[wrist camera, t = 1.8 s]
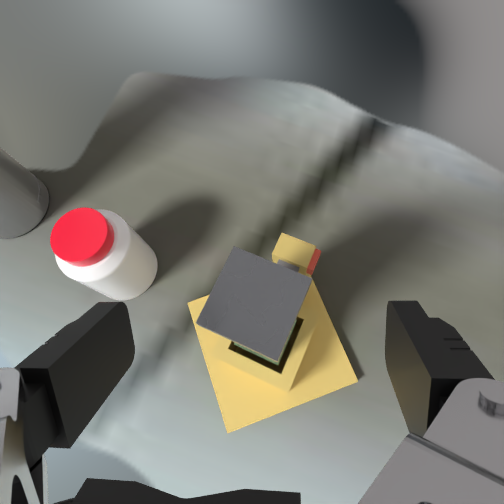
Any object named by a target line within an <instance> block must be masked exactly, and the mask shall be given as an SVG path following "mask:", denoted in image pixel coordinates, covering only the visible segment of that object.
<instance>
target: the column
mask: <svg viewBox="0 0 504 504" xmlns="http://www.w3.org/2000/svg"><path fill="white" fill-rule="evenodd" d="M311 282H312V278H310V277H308V276H306V275H303V274H301V273H298V272H296V271H293V270H291V269H288V268H286V267H284V266H281V265H279V264H276V263H274V262H271V261H269V260H266V259H264V258H262V257H259V256H257V255H254V254H252V253H249V252H247V251H245V250H242V249H240V248H237V247H235V246H234V247H233V249H232V251H231V253H230V255H229V257H228V259H227V261H226V263H225V265H224V267H223V269H222V271H221V273H220V275H219V277H218V279H217V281H216V283H215V285H214V287H213V289H212V291H211V293H210V295H209V297H208V299H207V301H206V303H205V305H204V307H203V309H202V311H201V313H200V315H199V317H198V319H197V321H196V324H198V325H199V326H201V327H203V328H205V329H207V330H210V331H212V332H214V333H216V334H218V335H220V336H222V337H224V338H226V339H229V340H231V341H233V342H235V343H234V345H236V346H238V347H240V348H242V349H243V350H245V351H247V352H250V353H252V354H254V355H256V356H258V357H260V358H262V359H264V360H266V361H269V362H271V363H273V364H275V365H277V366H278V365H279V363H280V360H281V358H282V355H283V353H284V351H285V348H286V346H287V343H288V341H289V339H290V336H291V334H292V332H293V328H294V326H295V324H296V321H297V320H296V318H297V316H298V313H299V311H300V309H301V306H302V304H303V302H304V299H305V297H306V294H307V292H308V290H309V287H310V285H311Z"/></svg>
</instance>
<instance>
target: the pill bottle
mask: <svg viewBox="0 0 504 504" xmlns="http://www.w3.org/2000/svg"><path fill="white" fill-rule="evenodd" d="M50 243H51V247H52V250H53V252H54V253H55V257H56V262H57V264H58V266H59V268H60V269H61V270H62V272H63V273H64V274H65V275H67V276H68V277H69V278H71V279H73V280H75V281H77V282H79V283H81V284H83V285H85V286H87V287H89V288H91V289H93V290H95V291H97V292H99V293H101V294H103V295H105V296H107V297H109V298H111V299H115V300H129V299H133V298H135V297H138V296H139V295H141V294H142V293H144V292H145V291H146V290H147V289H148V288H149V287H150V285H151V284H152V283H153V281H154V279H155V276H156V273H157V267H158V264H157V258H156V255H155V253H154V251H153V249H152V248H151V247H150V246H149V245H148V244H147V243H146V242H145V241H144V240H143V239H142V238H141V237H140V236H139V235H138V234H137V233H136V232H135V231H134V230H133V229H132V228H131V226H130V225H129V224H128V223H127V222H126V221H125V220H124V219H123V218H122V217H120V216H119V215H118V214H116V213H114V212H111V211H109V210H103V209H95V210H94V209H92V208H77V209H74V210H71V211H69V212H68V213H66V214H65V215H63V216H62V217H61V218H60V219H59V220H58V221H57V223H56V224H55V226H54V227H53V230H52V233H51V237H50Z"/></svg>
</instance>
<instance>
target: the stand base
mask: <svg viewBox="0 0 504 504" xmlns="http://www.w3.org/2000/svg"><path fill="white" fill-rule="evenodd" d="M320 254H321V250H318V249H316V246H315V245H312V244H309V243H307V242H304V241H302V240H299V239H297V238H294V237H291V236H289V235H286V234H284V233H282V234H281V236H280V238H279V240H278V242H277V244H276V246H275V249H274V251H273V253H272V259H273V262H274V263H276V264H279V265H281V266H284V267H286V268H288V269H291V270H293V271H296V272H298V273H301V274H303V275H306V276H308V277H310V278H312V277H311V275H312V274H313V271H314V269H315V266H316V264H317V262H318V259H319V257H320ZM208 297H209V295H207V296H205V297H202V298H199V299H197V300H194V301H191V302H189V303H188V306H189V309H190V312H191V316H192V319H193V322H194V325H195V329H196V332H197V335H198V338H199V342H200V345H201V348H202V351H203V355H204V358H205V361H206V364H207V368H208V371H209V374H210V377H211V381H212V384H213V387H214V390H215V394H216V397H217V400H218V404H219V407H220V410H221V413H222V417H223V420H224V423H225V426H226V430H227V433H230V432H232V431H235V430H237V429H240V428H242V427H245V426H247V425H250V424H252V423H255V422H257V421H260V420H262V419H265V418H267V417H270V416H273V415H275V414H278V413H280V412H283V411H285V410H288V409H290V408H293V407H295V406H298V405H300V404H303V403H305V402H308V401H310V400H313V399H315V398H318V397H320V396H323V395H325V394H328V393H330V392H333V391H335V390H338V389H340V388H343V387H346V386H348V385H351V384H353V383H356V382H358V380H357V378H356V375H355V373H354V371H353V369H352V366H351V364H350V362H349V360H348V357H347V355H346V353H345V351H344V348H343V346H342V344H341V342H340V340H339V337H338V335H337V333H336V331H335V328H334V326H333V324H332V322H331V319H330V317H329V315H328V313H327V310H326V308H325V306H324V304H323V301H322V299H321V297H320V295H319V292H318V290H317V288H316V286H315V283H314V281H313V279H312V282H311V285H310V287H309V290H308V292H307V294H306V297H305V299H304V302H303V304H302V306H301V309H300V311H299V313H298V316H297V318H296V320H297V321H296V324H295V326H294V328H293V332H292V334H291V336H290V339H289V341H288V343H287V346H286V348H285V351H284V353H283V355H282V358H281V360H280V363H279V365H278V366H277V365H275V364H273V363H271V362H269V361H266V360H264V359H262V358H260V357H258V356H256V355H254V354H252V353H250V352H247V351H245V350H243V349H242V348H240V347H238V346H236V345H234V343H235V342H233V341H231V340H229V339H226V338H224V337H222V336H220V335H218V334H216V333H214V332H212V331H210V330H207V329H205V328H203V327H201V326H199V325H198V324H196V321H197V319H198V317H199V315H200V313H201V311H202V309H203V307H204V305H205V303H206V301H207V299H208Z"/></svg>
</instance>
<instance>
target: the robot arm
mask: <svg viewBox="0 0 504 504" xmlns="http://www.w3.org/2000/svg"><path fill="white" fill-rule="evenodd" d="M48 204H49V193H48V190H47V188H46V186H45V185H44V184H43V183H42V182H41V181H40V180H39V179H38V178H37V177H36V176H35V175H33V174H32V173H31V172H29V171H28V170H27V169H26V168H25V167H23V166H22V165H21V164H20V163H19V162H18V161H17V160H15V159H14V158H13V157H12V156H11V155H9V154H8V153H7V152H6V151H5V150H3V149H2V148H1V147H0V238H7V239H9V238H15V237H18V236H21V235H23V234H25V233H27V232H29V231H30V230H32V229H33V228H34V227H35V226H36V225H37V224H38V223H39V222H40V221H41V220H42V218H43V217H44V215H45V213H46V211H47V208H48ZM134 354H135V346H134V340H133V335H132V329H131V324H130V319H129V313H128V309H127V306H126V304H125V303H123V302H99V303H97V304H96V305H94V306H93V307H92V308H91V309H90V310H88V311H87V312H86V313H85V314H84V315H82V316H81V317H80V318H79V319H78V320H76V321H74V322H72V323H70V324H68V325H66V326H65V327H64V328H62V329H61V330H60V331H59V332H57V333H56V334H55V337H51V338H50V339H49V340H48V341H46V342H45V345H42V346H40V347H39V348H38V349H37V350H35V351H34V352H33V353H32V354H31V355H29V356H28V357H27V358H26V359H24V360H23V361H22V362H21V363H20V364H18V365H17V366H16V367H15V368H0V504H48V480H47V462H46V459H45V455H44V452H45V451H46V450H47V449H48V448H49V447H53V448H70V447H71V446H72V445H73V444H74V442H75V441H76V439H77V438H78V437H79V435H80V434H81V433H82V431H83V430H84V429H85V427H86V426H87V425H88V423H89V422H90V420H91V419H92V418H93V416H94V415H95V414H96V412H97V411H98V410H99V408H100V407H101V405H102V404H103V403H104V401H105V400H106V399H107V397H108V396H109V395H110V393H111V392H112V391H113V389H114V388H115V386H116V385H117V384H118V382H119V381H120V380H121V378H122V377H123V376H124V374H125V373H126V371H127V370H128V369H129V367H130V366H131V364H132V362H133V359H134ZM385 359H386V366H387V371H388V374H389V376H390V379H391V382H392V385H393V388H394V390H395V393H396V396H397V399H398V402H399V404H400V407H401V410H402V413H403V416H404V418H405V421H406V424H407V427H408V430H409V432H410V433H409V434H408V435H407V436H406V437H405V438H404V440H403V441H402V442H401V444H400V445H399V447H398V448H397V449H396V451H395V452H394V454H393V455H392V456H391V458H390V459H389V461H388V462H387V463H386V465H385V466H384V468H383V469H382V470H381V472H380V473H379V475H378V476H377V477H376V479H375V480H374V482H373V483H372V484H371V486H370V487H369V489H368V490H367V491H366V493H365V494H364V496H363V497H362V498H361V500H360V501H359V503H358V504H504V382H501V381H497V380H495V379H494V378H493V377H492V375H491V374H490V373H489V372H488V370H487V369H486V368H485V366H484V365H483V364H482V363H481V361H480V360H479V359H478V357H477V356H476V355H475V354H474V352H473V351H471V350H470V347H469V346H468V345H467V343H466V342H465V341H463V338H462V337H461V336H460V334H459V333H458V332H457V330H456V329H455V328H454V327H453V326H451V325H450V324H448V323H446V322H445V321H443V320H441V319H440V318H429V317H428V316H427V314H426V313H425V311H424V310H423V308H422V307H421V305H420V304H419V302H418V301H389V302H388V305H387V317H386V339H385ZM54 504H301V495H300V493H296V492H282V491H267V490H252V489H241V490H236V491H230V492H224V493H218V494H213V495H207V496H201V497H195V498H188V499H185V498H179V497H177V496H174V495H171V494H168V493H166V492H163V491H160V490H158V489H155V488H152V487H149V486H147V485H144V484H141V483H138V482H135V481H120V480H105V479H90V478H87V479H86V480H85V482H84V484H83V485H82V487H81V489H80V490H79V492H78V493H77V495H76V496H75V498H72V499H68V500H64V501H60V502H57V503H54Z"/></svg>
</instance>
